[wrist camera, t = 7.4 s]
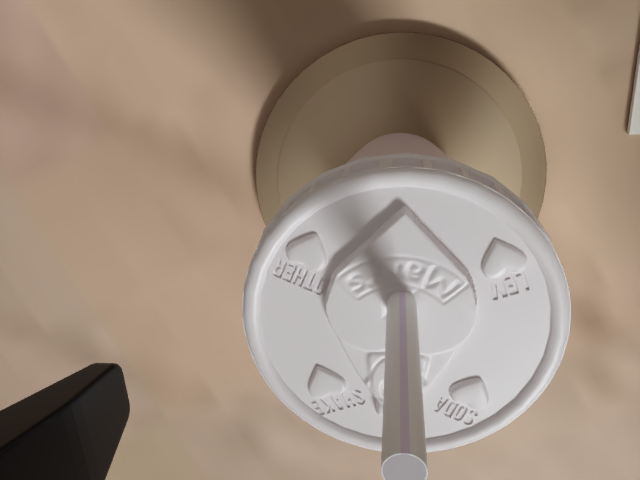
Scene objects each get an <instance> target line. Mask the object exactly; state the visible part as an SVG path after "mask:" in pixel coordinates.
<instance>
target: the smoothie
mask: <svg viewBox="0 0 640 480" xmlns="http://www.w3.org/2000/svg"><path fill="white" fill-rule="evenodd" d="M242 317H243V325H244V331H245V336H246V340H247V344H248V347H249V350H250V353H251V355H252V358H253V360H254V362H255V364H256V366H257V368H258V370H259V372H260V373H261V375H262V377H263V379H264V380H265V381H266V383H267V384H268V386H269V387H270V388H271V390H272V391H273V392H274V393H275V394H276V396H277V397H278V398H279V399H280V400H281V401H282V402H283V403H284V404H285V405H286V406H287V407H288V408H289V409H290V410H291V411H292V412H294V413H295V414H296V415H297V416H299V417H300V418H301V419H303V420H304V421H305V422H307V423H308V424H310V425H311V426H313V427H315V428H316V429H318V430H320V431H322V432H324V433H325V434H327V435H330V436H332V437H334V438H336V439H338V440H341V441H344V442H347V443H349V444H352V445H356V446H359V447H363V448H367V449H372V450H377V451H382V456H381V474H382V477H383V478H384V480H426V479H427V476H428V466H427V452H435V451H442V450H447V449H452V448H455V447H459V446H463V445H466V444H469V443H472V442H474V441H477V440H480V439H482V438H484V437H486V436H488V435H490V434H492V433H494V432H496V431H498V430H499V429H501V428H503V427H505V426H506V425H508V424H509V423H510V422H512V421H513V420H515V419H516V418H517V417H519V416H520V415H521V414H522V413H523V412H524V411H526V410H527V409H528V408H529V407H530V406H531V405H532V404H533V403H534V402H535V401H536V400H537V399H538V398H539V396H540V395H541V394H542V392H543V391H544V390H545V389H546V387H547V386H548V384H549V383H550V381H551V380H552V378H553V376H554V375H555V373H556V371H557V369H558V367H559V365H560V363H561V360H562V357H563V355H564V352H565V349H566V345H567V341H568V337H569V331H570V322H571V302H570V294H569V288H568V284H567V280H566V276H565V273H564V270H563V267H562V265H561V262H560V260H559V258H558V256H557V254H556V252H555V250H554V248H553V244H552V241H551V238H550V237H549V235H548V234H547V232H546V231H545V229H544V228H543V226H542V225H541V224H540V222H539V221H538V219H537V218H536V216H535V215H534V213H533V212H532V210H531V209H530V208H529V206H528V205H527V204H526V203H525V202H524V201H523V200H521V199H520V198H519V197H518V196H516V195H515V194H514V193H513V192H511V191H510V190H509V189H508V188H507V187H505V186H504V185H503V184H502V183H500V182H499V181H498V180H497V179H495V178H494V177H493V176H490V175H488V174H486V173H483V172H481V171H479V170H476V169H474V168H472V167H469V166H467V165H465V164H462V163H460V162H458V161H455V160H453V159H450V158H449V157H448V156H447V155H446V154H445V153H444V152H442V151H441V150H440V149H439V148H438V147H437V146H435V145H434V144H433V143H432V142H430V141H428V140H427V139H425V138H423V137H420V136H417V135H414V134H409V133H392V134H387V135H383V136H380V137H378V138H376V139H374V140H372V141H370V142H369V143H368V144H366V145H365V146H364V147H363V148H362V149H360V150H359V151H358V152H357V153H356V154H355V155H354V156H353V157H352V158H351V159H350V160H349V161H348V162H347V163H346V164H344V165H341V166H339V167H336V168H334V169H331V170H328V171H326V172H323V173H321V174H320V175H319V176H317V177H316V178H315V179H313V180H312V181H310V182H309V183H308V184H306V185H305V186H304V187H302V188H301V189H300V190H298V191H297V192H295V193H294V194H293V195H291V196H290V197H289V198H288V199H287V200H286V202H285V203H284V204H283V205H282V207H281V208H280V209H279V211H278V212H277V213H276V214H275V216H274V217H273V218H272V220H271V221H270V222H269V223H268V225H267V226H266V227H265V229H264V232H263V234H262V237H261V239H260V242H259V244H258V247H257V250H256V252H255V254H254V256H253V258H252V261H251V263H250V266H249V269H248V272H247V275H246V280H245V285H244V290H243V300H242Z"/></svg>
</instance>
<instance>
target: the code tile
mask: <svg viewBox="0 0 640 480" xmlns="http://www.w3.org/2000/svg"><path fill="white" fill-rule="evenodd" d="M627 134H629V135H636V134H640V44H639V51H638V58H637V66H636V73H635V80H634V87H633V94H632V101H631V108H630V115H629V122H628V129H627Z"/></svg>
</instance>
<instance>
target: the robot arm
mask: <svg viewBox="0 0 640 480" xmlns="http://www.w3.org/2000/svg"><path fill="white" fill-rule="evenodd" d="M129 412H130V404H129V399H128V394H127V389H126V385H125V380H124V376H123V372H122V369H121V367H120V366H119V365H118V364H115V363H94V364H91V365H89V366H88V367H86V368H84V369H82V370H80V371H78V372H76V373H74V374H72V375H70V376H68V377H66V378H64V379H62V380H60V381H58V382H56V383H54V384H52V385H50V386H48V387H46V388H44V389H42V390H40V391H38V392H36V393H34V394H33V395H31V396H29V397H27V398H25V399H23V400H21V401H19V402H17V403H15V404H13V405H11V406H9V407H7V408H5V409H3V410H1V411H0V480H105V478H106V476H107V473H108V470H109V468H110V465H111V463H112V460H113V457H114V455H115V452H116V449H117V447H118V444H119V442H120V439H121V436H122V434H123V431H124V428H125V426H126V423H127V420H128V417H129Z"/></svg>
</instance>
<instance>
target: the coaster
mask: <svg viewBox="0 0 640 480" xmlns="http://www.w3.org/2000/svg"><path fill="white" fill-rule="evenodd" d="M392 133H409V134H414V135H417V136H420V137H423V138H425V139H427V140H428V141H430V142H432V143H433V144H434V145H435V146H437V147H438V148H439V149H440V150H441V151H442V152H444V153H445V154H446V155H447V156H448V157H449V158H450V159H453V160H455V161H458V162H460V163H462V164H465V165H467V166H469V167H472V168H474V169H476V170H479V171H481V172H483V173H486V174H488V175H490V176H493V177H494V178H495V179H497V180H498V181H499V182H500V183H502V184H503V185H504V186H505V187H507V188H508V189H509V190H510V191H511V192H513V193H514V194H515V195H516V196H518V197H519V198H520V199H521V200H523V201H524V202H525V203H526V204H527V205H528V206H529V208H530V209H531V210H532V212H533V213H534V215H535V216H536V218H537V219H538V216H539V212H540V209H541V206H542V203H543V198H544V192H545V186H546V155H545V147H544V142H543V138H542V135H541V131H540V127H539V124H538V122H537V120H536V117H535V115H534V113H533V111H532V108H531V107H530V105H529V103H528V102H527V100H526V99H525V97H524V95H523V94H522V92H521V91H520V89H519V88H518V87H517V86H516V85H515V84H514V82H513V81H512V80H511V79H510V78H509V76H508V75H506V74H505V73H504V72H503V71H502V70H501V69H500V68H499V67H497V66H496V65H495V64H494V63H493V62H491V61H490V60H488V59H487V58H485V57H484V56H482V55H481V54H479V53H478V52H476V51H474V50H472V49H470V48H468V47H466V46H464V45H461V44H459V43H457V42H455V41H451V40H448V39H445V38H441V37H438V36H434V35H427V34H421V33H401V32H395V33H387V34H378V35H373V36H369V37H365V38H362V39H358V40H355V41H352V42H350V43H347V44H345V45H343V46H340V47H338V48H336V49H334V50H332V51H331V52H329V53H327V54H326V55H324V56H322V57H320V58H319V59H317V60H316V61H315V62H314V63H312V64H311V65H310V66H309V67H307V68H306V69H305V70H303V71H302V72H301V73H300V74H299V75H298V76H297V77H296V78H295V79H294V81H293V82H292V83H291V84H290V85H289V86H288V87H287V89H286V90H285V91H284V93H283V94H282V95H281V97H280V98H279V99H278V101H277V103H276V104H275V106H274V108H273V110H272V112H271V113H270V115H269V117H268V120H267V122H266V125H265V127H264V130H263V133H262V136H261V140H260V144H259V148H258V153H257V163H256V188H257V194H258V200H259V206H260V209H261V212H262V216H263V219H264V222H265V224H266V226H267V225H268V223H269V222H270V221H271V220H272V218H273V217H274V216H275V214H276V213H277V212H278V211H279V209H280V208H281V207H282V205H283V204H284V203H285V202H286V200H287V199H288V198H289V197H290V196H291V195H293V194H294V193H295V192H297V191H298V190H300V189H301V188H302V187H304V186H305V185H306V184H308V183H309V182H310V181H312V180H313V179H315V178H316V177H317V176H319V175H320V174H321V173H323V172H326V171H328V170H331V169H334V168H336V167H339V166H341V165H344V164H346V163H347V162H348V161H349V160H350V159H351V158H352V157H353V156H354V155H355V154H356V153H357V152H358V151H359V150H360V149H362V148H363V147H364V146H365V145H366V144H368V143H369V142H370V141H372V140H374V139H376V138H378V137H380V136H383V135H387V134H392Z"/></svg>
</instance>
